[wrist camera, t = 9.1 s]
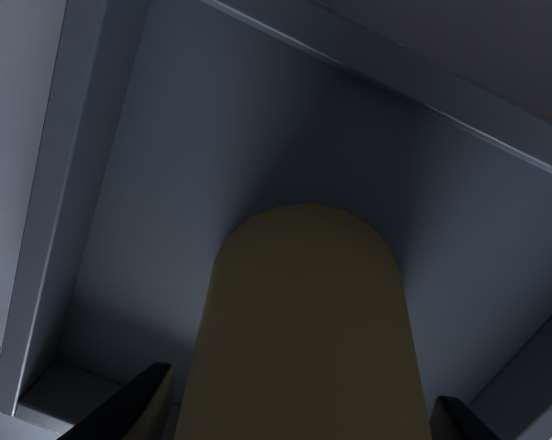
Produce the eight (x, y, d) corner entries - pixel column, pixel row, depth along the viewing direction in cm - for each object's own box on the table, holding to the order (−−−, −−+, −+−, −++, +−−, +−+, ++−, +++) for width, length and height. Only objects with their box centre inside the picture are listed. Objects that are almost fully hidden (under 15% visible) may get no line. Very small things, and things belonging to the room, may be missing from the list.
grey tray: (671, 199, 10) (778, 235, 8) (394, 493, 16) (409, 566, 13) (144, -66, 9) (85, -115, 7) (41, 354, 14) (-11, 409, 12)
